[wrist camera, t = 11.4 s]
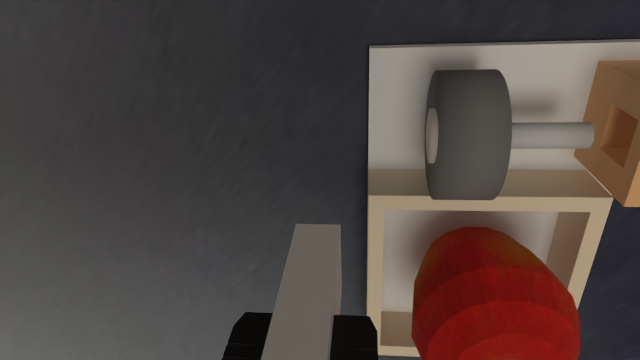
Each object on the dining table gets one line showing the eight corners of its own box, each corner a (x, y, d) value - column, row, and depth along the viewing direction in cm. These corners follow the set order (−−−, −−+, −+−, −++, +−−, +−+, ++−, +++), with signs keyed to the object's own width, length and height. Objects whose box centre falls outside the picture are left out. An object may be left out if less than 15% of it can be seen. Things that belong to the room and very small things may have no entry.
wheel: (418, 164, 29) (433, 224, 22) (426, 56, 25) (446, 93, 19) (549, 164, 28) (601, 227, 22) (574, 53, 24) (645, 90, 18)
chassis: (366, 312, 37) (366, 384, 31) (369, 45, 26) (370, 75, 20) (564, 319, 35) (606, 397, 29) (652, 38, 25) (745, 69, 19)
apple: (425, 309, 35) (451, 466, 24) (383, 222, 31) (391, 361, 21) (546, 276, 32) (633, 436, 22) (514, 178, 29) (600, 311, 18)
